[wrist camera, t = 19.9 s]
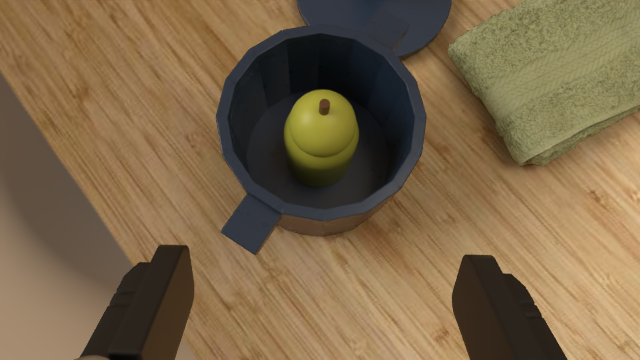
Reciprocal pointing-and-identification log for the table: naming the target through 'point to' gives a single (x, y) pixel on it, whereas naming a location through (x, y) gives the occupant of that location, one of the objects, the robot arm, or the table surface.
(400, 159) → the pot
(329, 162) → the pear
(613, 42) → the washcloth
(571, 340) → the table surface
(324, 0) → the lid
